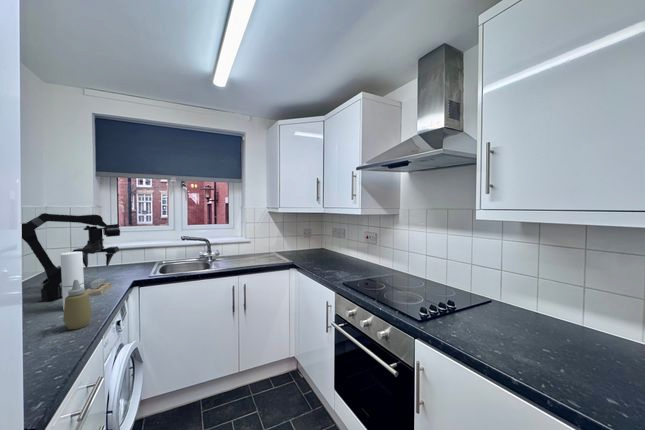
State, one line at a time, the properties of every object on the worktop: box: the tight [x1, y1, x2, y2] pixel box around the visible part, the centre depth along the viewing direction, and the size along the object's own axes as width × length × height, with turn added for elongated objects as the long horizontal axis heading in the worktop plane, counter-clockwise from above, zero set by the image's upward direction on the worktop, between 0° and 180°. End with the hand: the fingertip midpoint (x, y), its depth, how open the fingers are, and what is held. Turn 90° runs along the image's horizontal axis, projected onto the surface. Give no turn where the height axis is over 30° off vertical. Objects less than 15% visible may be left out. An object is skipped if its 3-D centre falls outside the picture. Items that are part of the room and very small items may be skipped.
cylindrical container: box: [60, 251, 85, 311], centre depth 119 cm, size 7×7×25 cm
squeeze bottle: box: [62, 280, 93, 330], centre depth 101 cm, size 8×8×18 cm
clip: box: [90, 277, 106, 289], centre depth 142 cm, size 8×3×6 cm, turn 19°
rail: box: [85, 281, 113, 297], centre depth 142 cm, size 14×7×2 cm, turn 19°
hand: (97, 266), depth 143 cm, fingers open, 9 cm apart
